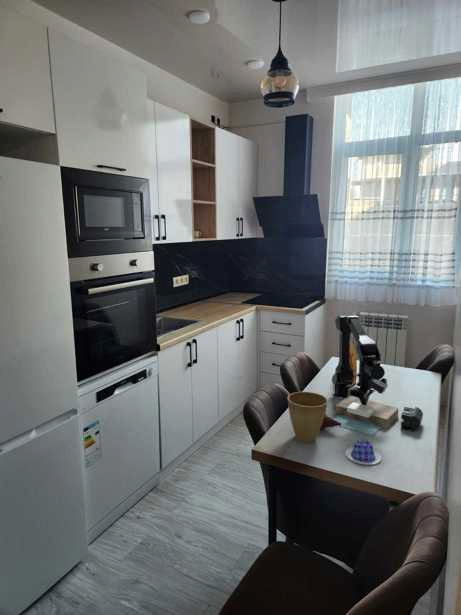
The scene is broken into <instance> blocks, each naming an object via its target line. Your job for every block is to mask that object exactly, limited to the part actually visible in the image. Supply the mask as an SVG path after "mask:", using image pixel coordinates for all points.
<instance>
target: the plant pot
mask: <svg viewBox="0 0 461 615" xmlns="http://www.w3.org/2000/svg"><path fill="white" fill-rule="evenodd" d="M287 405H288V406H287V407H288V412H289V413H288V414H289V418H290V422H291V426H292V430H293V433H294V435H295V438H296V439H297V441H300V442H302V443H312V442H315V440H316V439H317V437H318V435H319V433H320V431H321V430H320V428H321V425H322V422H323V419H324V416H325V414H326V411H327V406H328V399H327V397H326V396H325V395H323V394H320V393H316V392H312V391H311V392H310V391H297V392H293V393H290V394H288V396H287Z"/></svg>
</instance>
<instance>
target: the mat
mask: <svg viewBox="0 0 461 615" xmlns="http://www.w3.org/2000/svg"><path fill="white" fill-rule="evenodd" d="M332 419H333V420H335V421H337V422H339V423H341V425H339V426H338V427H342V428H344V429H348V430H350V431H353V432H357V433H361V434H364V435H367V436H371V437H373V436H374V435H375V434H376V433H378V431H380V429H381V428H382V427H380V426H377V425H373V424H370V423H366V422H363V421H360V420H356V419H353V418H349V417H346V416H342V415H338V414H337V416H336V417H334V418H332Z"/></svg>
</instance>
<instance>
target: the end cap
mask: <svg viewBox="0 0 461 615" xmlns="http://www.w3.org/2000/svg"><path fill="white" fill-rule="evenodd" d="M400 416H401V417H400V418H401V420H402V421H401V422H400V429H401V430H405V431H410V432H414V431H416V430H419V428H420V427H421V424H422V421H423V416H424V414H423V411H422V409H421V408H419V407H417V406H415V408H412V407H408V406H403V411H402V412H401V415H400Z"/></svg>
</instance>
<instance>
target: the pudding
mask: <svg viewBox="0 0 461 615" xmlns="http://www.w3.org/2000/svg"><path fill="white" fill-rule="evenodd" d="M345 456H346V457H347V458H348V459H349V460H350V461H352V462H355V463H357V464H360V465H367V466H369V465H376V464H379V463H380V462H381V461H382V455H381V454H380V453H379V452H378V451H377V450H374V447H373V443H372V442H370V441H368V440H364V439H357V440H356V441H355V443H354V445H353V446H351V447H348V448H347V449H346V450H345Z"/></svg>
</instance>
